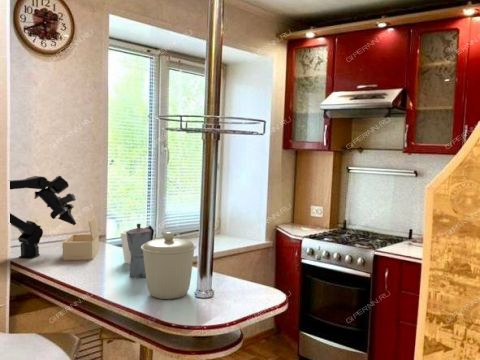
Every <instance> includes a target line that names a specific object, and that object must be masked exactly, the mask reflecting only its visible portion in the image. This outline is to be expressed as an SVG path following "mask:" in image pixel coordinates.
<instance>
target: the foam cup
mask: <svg viewBox="0 0 480 360" xmlns="http://www.w3.org/2000/svg"><path fill="white" fill-rule="evenodd" d="M129 230H130V229H128V230H122V231H120V239H121V246H122V252H123V254H122V255H123V260H124V263H125V264H127V263H128V265H130V262H131V254H130V251H129V246H128V241H127V235H126V232H127V231H129Z"/></svg>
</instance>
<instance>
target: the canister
mask: <svg viewBox="0 0 480 360" xmlns="http://www.w3.org/2000/svg"><path fill="white" fill-rule="evenodd" d="M162 236H163V238H156V239H153V240H151V241H148V242H146V243H145V244H144V245H142V246H141V249H142V250H143V255H144V264H145V273H146V277H145V279H146V280H145V281H146V286H147V291H148V292H149V295H150V296H152V297H153V298H156V299H161V300H174V299H178V298H181V297H184V296H185V295H187V294H188V292H189V290H190V286H191V278H192V274H193V273H192V271H193V264H194V263H193V262H194V254H195V249H196V248H197V245H196V244H195V243H194V242H192V241H191V240H187V239H184V238H177V237H176V238H175V234H174V233H173V232H171V231H166V232H165V233H164V234H163V235H162Z"/></svg>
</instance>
